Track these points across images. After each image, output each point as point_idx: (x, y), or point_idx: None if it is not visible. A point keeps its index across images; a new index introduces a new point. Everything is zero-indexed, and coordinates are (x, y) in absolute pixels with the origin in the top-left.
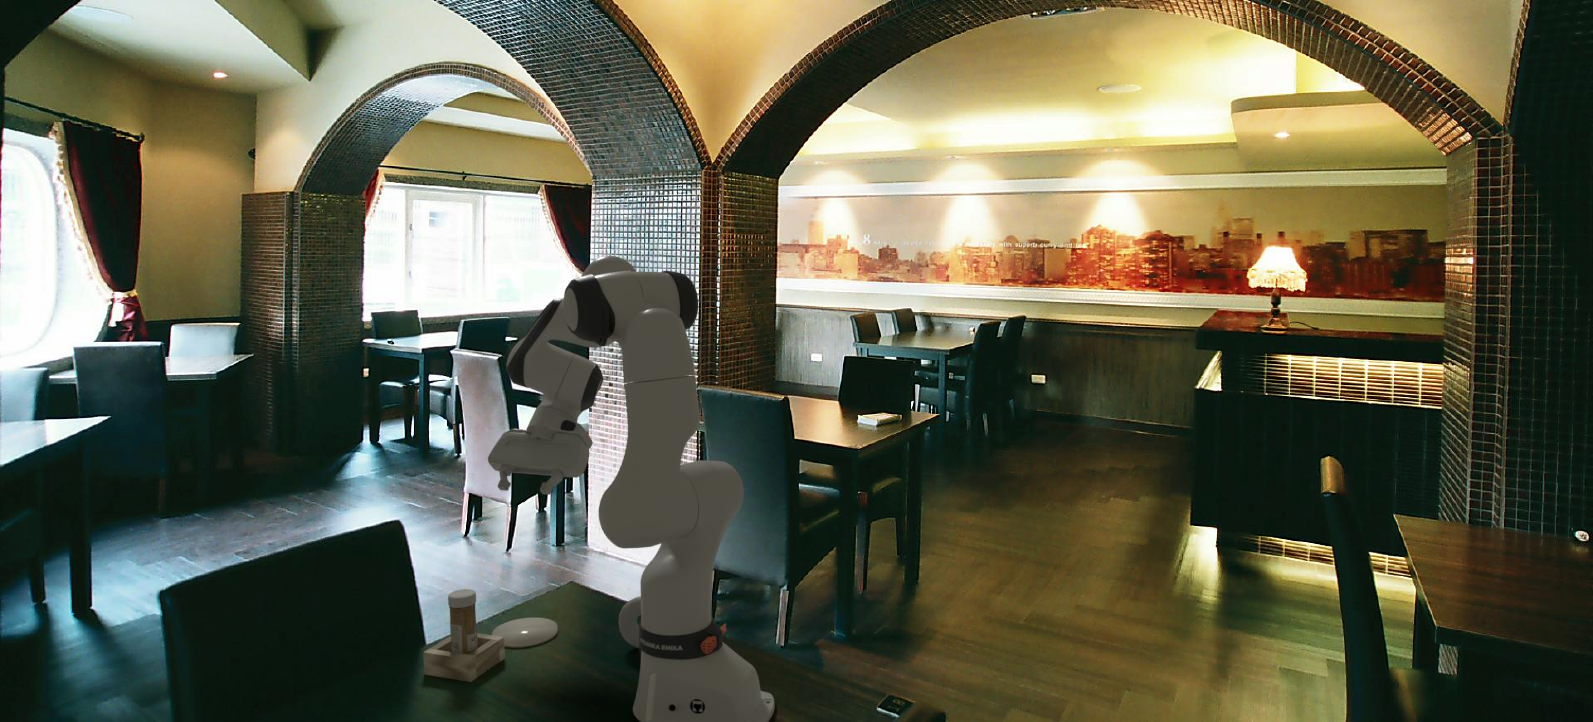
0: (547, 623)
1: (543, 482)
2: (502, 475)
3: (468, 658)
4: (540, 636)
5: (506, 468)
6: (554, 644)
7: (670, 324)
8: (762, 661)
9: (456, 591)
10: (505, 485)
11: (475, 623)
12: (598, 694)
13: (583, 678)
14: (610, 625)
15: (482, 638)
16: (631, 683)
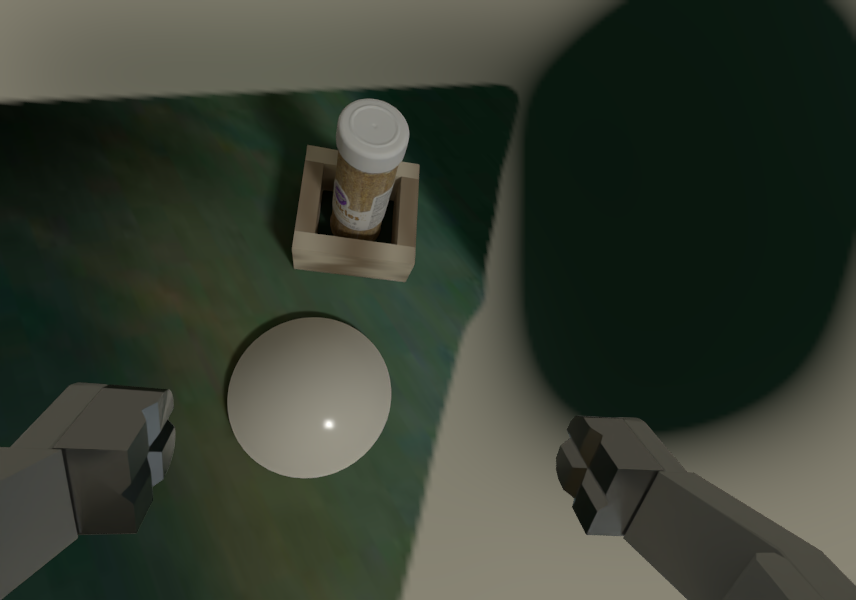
0: (272, 447)
1: (113, 447)
2: (708, 500)
3: (312, 148)
4: (253, 365)
5: (779, 596)
6: (209, 356)
7: None
8: None
9: (396, 133)
10: (581, 437)
11: (336, 180)
12: (4, 152)
13: (65, 210)
14: None
15: (339, 237)
16: None
